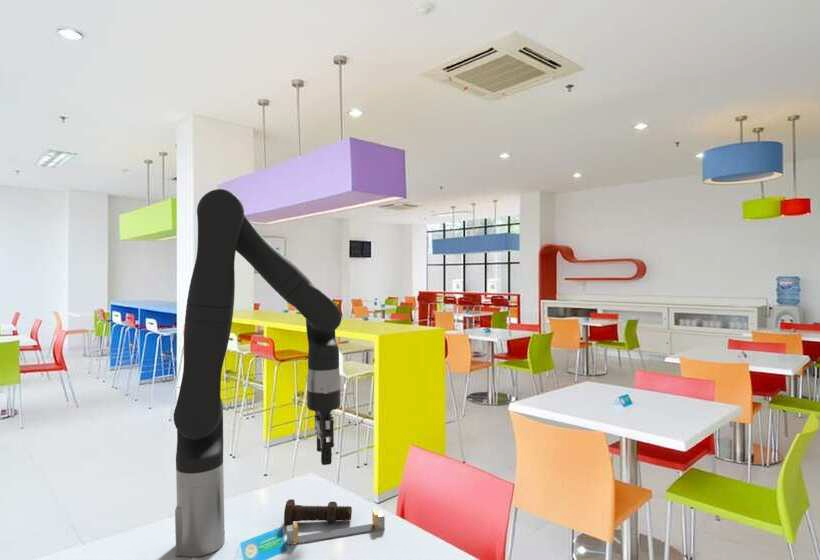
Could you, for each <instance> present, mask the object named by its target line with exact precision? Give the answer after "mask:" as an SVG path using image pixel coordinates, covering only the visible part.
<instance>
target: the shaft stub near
mask: <svg viewBox="0 0 820 560" xmlns="http://www.w3.org/2000/svg"><path fill="white" fill-rule="evenodd" d="M298 536H299V525H298V521H293V523H292V525H288V526H287V527H286V543H287V544H288V545H287V546H290V545H289V544H294V543H298ZM298 544H299V543H298ZM294 545H295V544H294Z"/></svg>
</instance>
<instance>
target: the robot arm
mask: <svg viewBox="0 0 820 560" xmlns="http://www.w3.org/2000/svg"><path fill="white" fill-rule="evenodd" d="M196 217H197V251H196V259H195V264H194V267H193V271H192V274H191V279H190V284H189V288H188V293H187V301H186V307H185V315H184V317H185V318H184V331H183V371H182V379H181V381H180V387H179V390H178V391H179V393H178V396H177V400H176V405H175V408H174V412H173V423H174V426H175V429H176V438H177V439H176V451H175V474H176V475H175V477H176V479H175V480H176V481H175V482H176V486H175V487H176V507H175V510H174V519H175V520H174V523H175V524H174V525H175V527H174V528H175V532H174V534H175V556H176V557H181V556H182V557H188V558H197V557H203V556H206V555H210V554H212V553H215V552H216V551H217V550H219V549H220V548H222V547H223V545H224V544H225V542H226V541H225V540H226V536H225V534H226V529H225V492H224V491H225V490H224V488H225V484H224V482H225V481H224V478H225V477H224V405H223V400H222V398H221V387H222V386H221V382H222V381H221V380H222V372H223V367H224V366H223V365H224V362H225V357H226V353H227V350H228V345H229V340H230V336H231V330H232V324H233V318H234V317H233V316H234V307H235V289H236V287H235V286H236V283H235V282H236V281H235V260H236V259H235V258H236V253H238V254H239V255H240V256H241V257H243V259H244V260H246V261H247V262H248V263H249V264H250V265H251V266H252V268H253V269H254V270H255V271H256V272H257V273H258V274H259V276H261V277H262V279H263V280H265V281H266V282H267V284H269V286H270V287H271V288H272V289H274V291H275V292H276V293H278V295H280V297H281V298H283V300H285V301H286V302H287V304H289V305H291V306H292V307H294V308H295V309H296V310H297V311H298V312H299V313H300V314H301V315H302V317H304V319H305V326H306V327H305V328H306V335H307V336H306V337H307V342H308V343H307V344H308V345H307V346H308V350H307V351H308V354H307V364H308V365H307V377H306V407H307V409H308V410H309V411H312V412H314V415H313V416H314V417H313V420H314V430H315V433H314V434H315V435H316V451H317V452H320V456H321V457H320V463H321V465H322V466H326V465H331V464H332V462H333V460H332V458H333V457H332V455H333V453H332V450H333V449H332V448H334V446H335V442H334V441H335V440H334V437H335V436H334V434H335V433H334V424H335V422H334V421H335V420H334V416H333V414H332V413H331V412H332V411H336V410H337V409H339V408H340V407H341V375H340V373H341V372H340V349H339V345H338V344H337V341H336V330H337V329H338V328H339V326H340V325H341V322H342V313H341V309H340V308H339V306H338V305H337V304H336V303H335V302H334V301H333V300H332V299H330V297H329V296H327V295H326V294H325V293H324V292H323V291H322V290H320V289H319V288H317V287H316V286H315V285H314V283H313V282H311V280H310V279H309V278H308V277H307V276H306V275H305V273H304V272H303V271H301V270H300V269H299V267H297V265H295V263H293V262H292V260H290V259H289V258H288V257H287V256H285V255H284V254H283V253H282V252H281V251H279V250H278V249H277V248H275V246H274V245H272V244H271V243H270V242H269V241H268V240H267V239H266V238H265V237H263V236H262V234H260V233H259V232H258V231H257V229H256V228H255V226H254V225H252V223H251V221H250V220H249V219H248V217H247V216H246V214H245V209H244V206H243V202H242V201H241V200H240V198H239V197H238V196H237V195H236V194H235V193H233V192H232V191H229V190H227V189H223V188H222V189H221V188H217V189H213V190H210V191H208V192H207V193H204V195H203V196H202V197H201V198H200V200H199V202H198V203H197V208H196ZM327 439H328V441H327Z"/></svg>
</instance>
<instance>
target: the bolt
mask: <svg viewBox="0 0 820 560" xmlns="http://www.w3.org/2000/svg"><path fill="white" fill-rule="evenodd" d="M283 512H284V513H283V524H284V526H285V528H287V526H288V525H293V522H303V521H304V522H307V521H310V522H312V521H314V522H317V521H318V522H324V521H326V524H327V525H328V526H332V525H333V526H334V525H335V524H336V522H340V521H341V522H347V521H348V522H349V521H351V520H352V512H353V507H352V506H350V505H346V506H345V505H342V506H341V505H338V504H337V502H336V501H329V502H328V504H327V505H323V506H322V505H300V504H296V503H295V499H293V498H291V499H288V500H287V501H286V503H285V507H284V511H283Z"/></svg>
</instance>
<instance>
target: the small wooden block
mask: <svg viewBox="0 0 820 560" xmlns="http://www.w3.org/2000/svg"><path fill="white" fill-rule="evenodd" d="M371 512H372V513H371V514H372V525H373V527H374V529H375V531H374V532H376V531H377V532H378V531H381V530H382V531H383V530H386V527H385V519H386V518H385V515H384V513H383V510H379V511H377V509H372V511H371Z"/></svg>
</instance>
